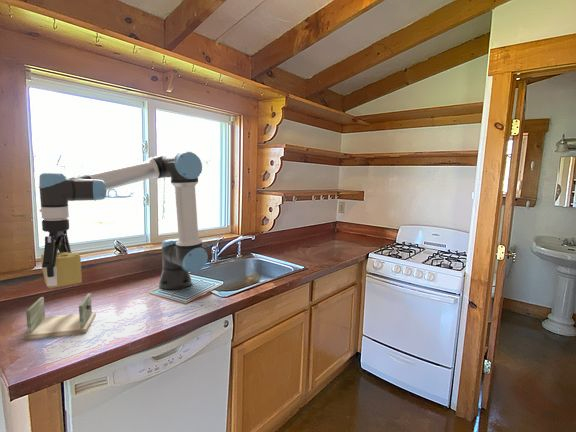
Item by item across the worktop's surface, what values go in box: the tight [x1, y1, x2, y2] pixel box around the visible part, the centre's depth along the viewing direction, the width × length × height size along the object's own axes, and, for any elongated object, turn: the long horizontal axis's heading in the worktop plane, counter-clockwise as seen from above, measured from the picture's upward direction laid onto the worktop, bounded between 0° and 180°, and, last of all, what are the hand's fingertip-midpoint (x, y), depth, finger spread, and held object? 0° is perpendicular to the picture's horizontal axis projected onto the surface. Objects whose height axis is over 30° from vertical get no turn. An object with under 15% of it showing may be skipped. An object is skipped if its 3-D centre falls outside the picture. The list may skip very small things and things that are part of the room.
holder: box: [22, 292, 97, 341], centre depth 116 cm, size 18×14×10 cm
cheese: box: [40, 251, 83, 289], centre depth 114 cm, size 10×11×10 cm
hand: (59, 279), depth 114 cm, fingers closed on cheese, 13 cm apart
